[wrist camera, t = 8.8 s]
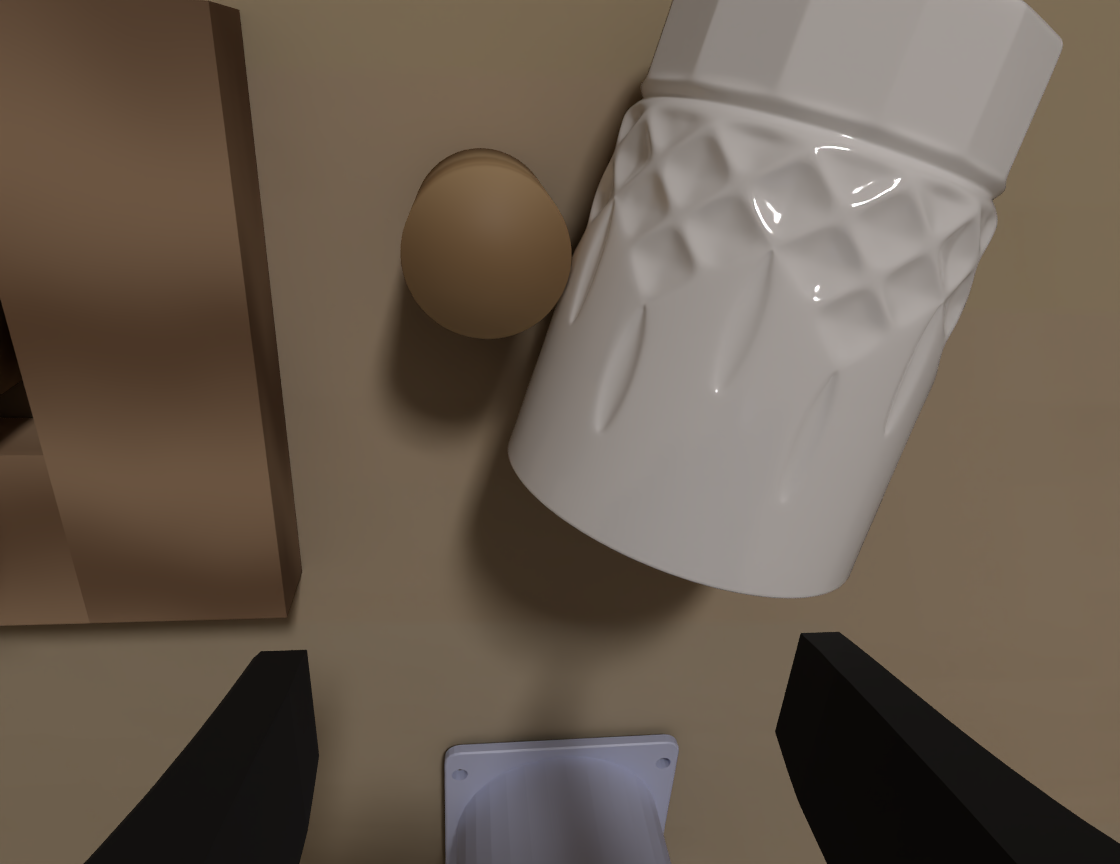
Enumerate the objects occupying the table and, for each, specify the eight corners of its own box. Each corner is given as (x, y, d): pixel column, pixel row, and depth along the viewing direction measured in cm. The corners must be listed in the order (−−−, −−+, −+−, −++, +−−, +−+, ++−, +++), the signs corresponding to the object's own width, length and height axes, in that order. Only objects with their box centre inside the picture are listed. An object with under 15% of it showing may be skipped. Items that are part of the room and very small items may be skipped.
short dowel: (546, 288, 18) (566, 340, 15) (416, 285, 18) (404, 338, 14) (553, 151, 17) (576, 171, 13) (411, 145, 16) (396, 164, 13)
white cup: (681, 16, 18) (561, 397, 21) (615, -142, 10) (447, 486, 13) (1018, 107, 16) (834, 500, 19) (1222, -1, 9) (872, 659, 12)
